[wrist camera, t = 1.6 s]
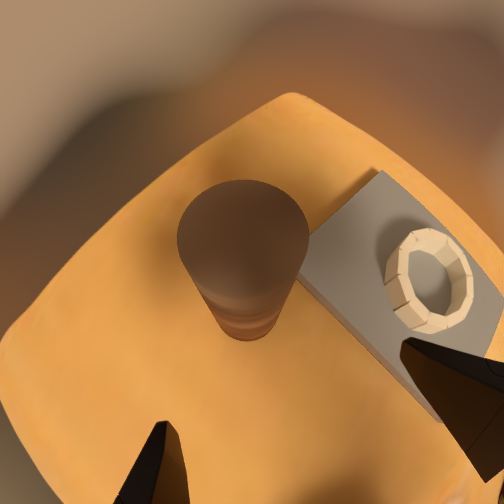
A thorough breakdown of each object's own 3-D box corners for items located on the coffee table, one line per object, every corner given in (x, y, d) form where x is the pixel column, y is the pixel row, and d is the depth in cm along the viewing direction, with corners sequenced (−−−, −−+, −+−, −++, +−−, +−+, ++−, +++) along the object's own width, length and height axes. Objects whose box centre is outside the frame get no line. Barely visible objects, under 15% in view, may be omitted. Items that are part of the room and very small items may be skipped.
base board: (497, 304, 21) (519, 293, 18) (437, 422, 17) (463, 425, 13) (377, 178, 28) (389, 154, 25) (282, 264, 24) (287, 243, 20)
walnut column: (289, 312, 22) (335, 236, 10) (244, 353, 20) (235, 326, 9) (249, 270, 23) (248, 162, 12) (203, 308, 22) (153, 227, 10)
